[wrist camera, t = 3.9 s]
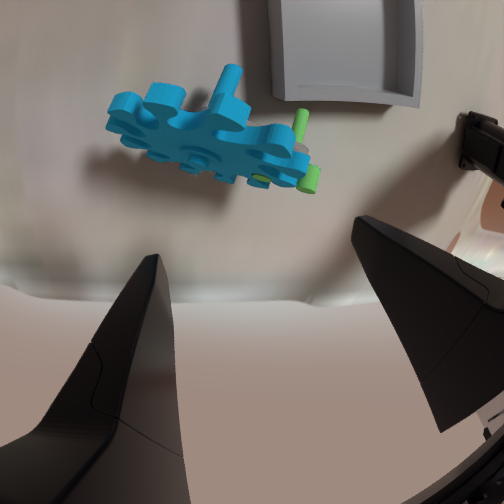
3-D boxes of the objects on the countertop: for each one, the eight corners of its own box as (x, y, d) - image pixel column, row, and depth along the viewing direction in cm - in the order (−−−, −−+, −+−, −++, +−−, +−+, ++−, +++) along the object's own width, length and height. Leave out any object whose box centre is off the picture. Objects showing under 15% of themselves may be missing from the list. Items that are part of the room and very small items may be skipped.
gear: (112, 160, 15) (75, 94, 6) (146, 82, 15) (154, -20, 6) (268, 208, 19) (370, 200, 10) (289, 134, 19) (386, 85, 10)
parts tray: (393, -51, 8) (413, -56, 6) (398, 100, 17) (419, 108, 16) (260, -84, 7) (271, -99, 5) (271, 95, 16) (285, 100, 14)
